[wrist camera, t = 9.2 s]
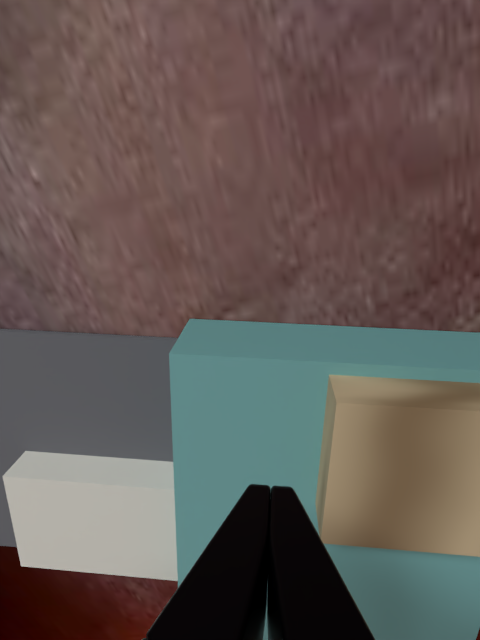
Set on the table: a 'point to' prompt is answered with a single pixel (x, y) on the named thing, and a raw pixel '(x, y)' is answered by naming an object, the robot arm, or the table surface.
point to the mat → (82, 399)
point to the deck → (308, 451)
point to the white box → (94, 514)
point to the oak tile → (400, 465)
